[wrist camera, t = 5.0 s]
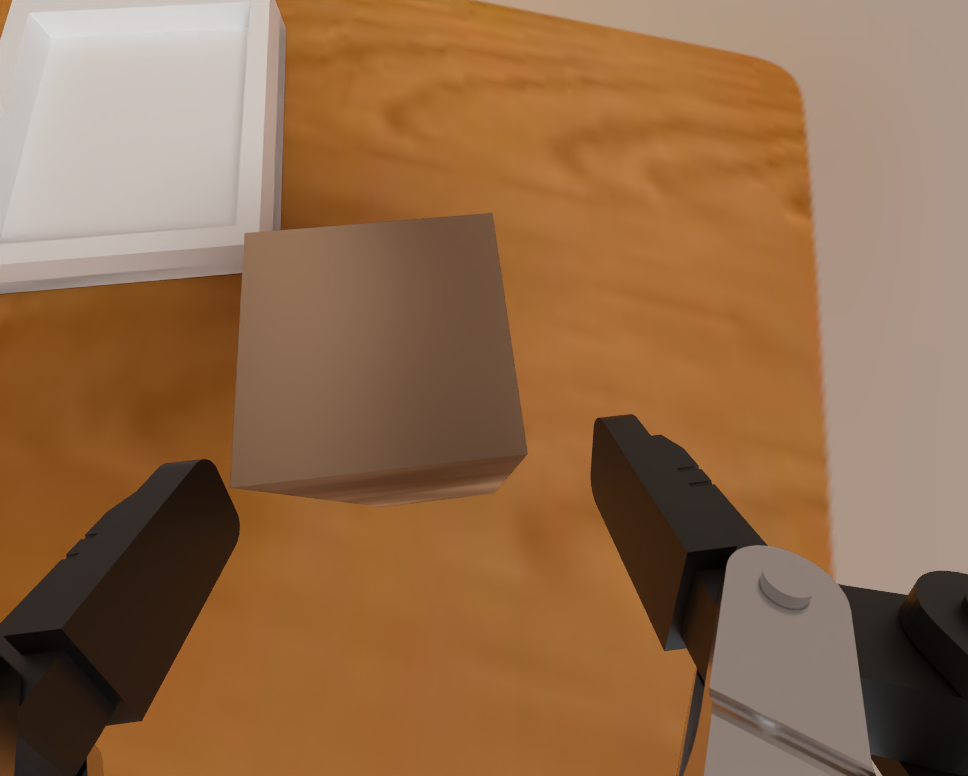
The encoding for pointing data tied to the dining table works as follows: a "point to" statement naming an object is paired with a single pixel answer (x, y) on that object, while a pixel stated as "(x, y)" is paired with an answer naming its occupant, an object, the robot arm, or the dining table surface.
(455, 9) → the dining table surface
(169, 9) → the tray
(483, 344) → the brown wooden block
